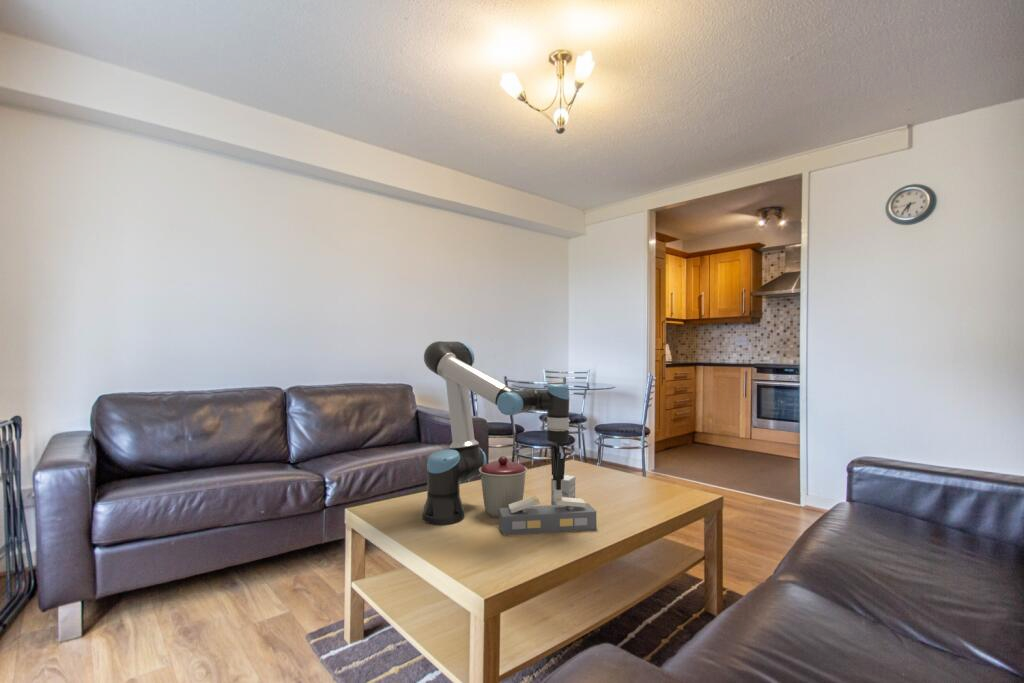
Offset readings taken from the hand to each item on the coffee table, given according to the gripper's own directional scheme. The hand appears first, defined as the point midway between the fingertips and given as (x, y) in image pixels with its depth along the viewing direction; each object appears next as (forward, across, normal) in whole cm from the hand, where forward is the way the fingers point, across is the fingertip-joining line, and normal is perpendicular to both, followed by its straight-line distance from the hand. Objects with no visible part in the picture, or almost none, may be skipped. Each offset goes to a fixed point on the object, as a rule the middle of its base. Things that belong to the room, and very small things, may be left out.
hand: (557, 498), depth 162 cm
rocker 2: (+1, 0, -4) cm, 5 cm away
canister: (+10, +17, +16) cm, 26 cm away
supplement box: (+10, +17, -6) cm, 20 cm away
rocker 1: (+2, 0, +12) cm, 12 cm away
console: (+10, 0, +4) cm, 10 cm away
